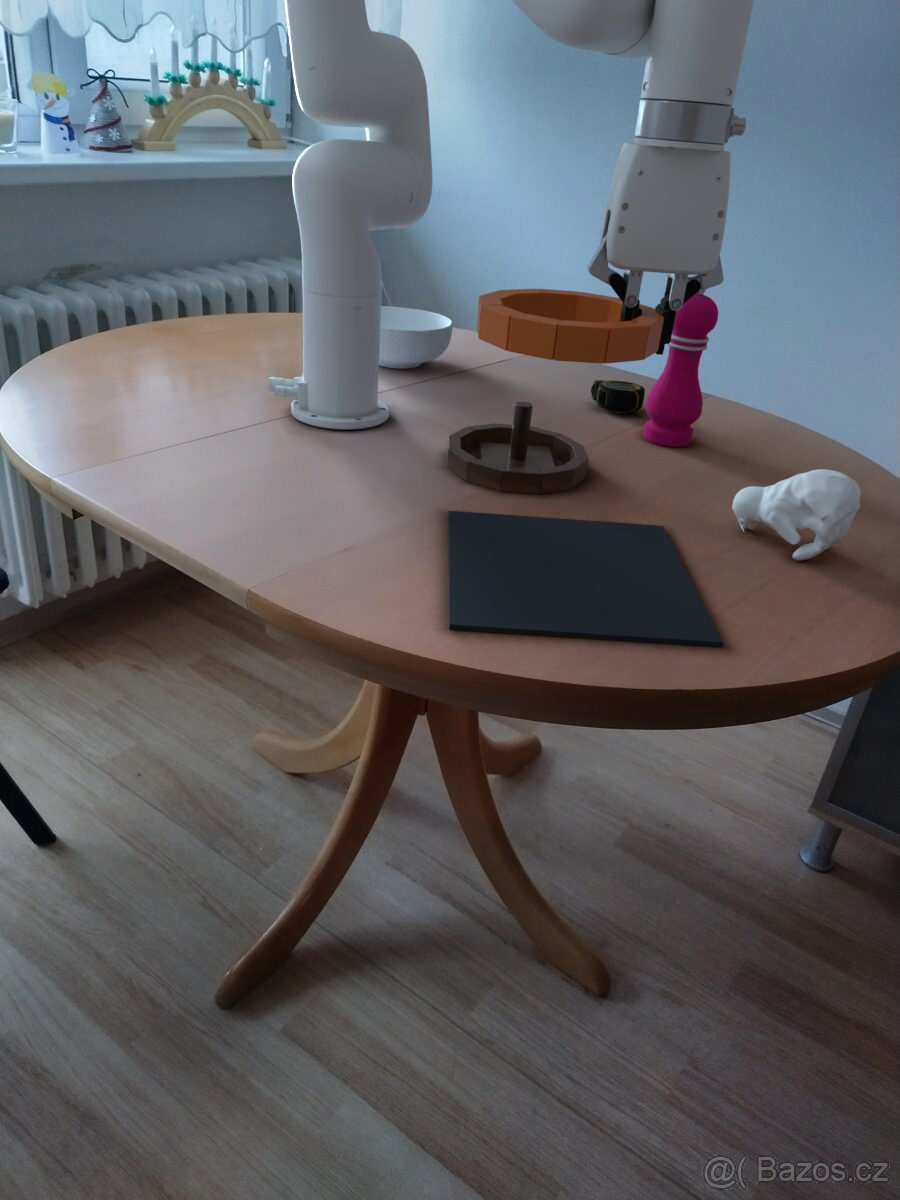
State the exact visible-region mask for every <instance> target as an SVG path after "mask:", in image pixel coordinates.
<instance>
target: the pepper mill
mask: <svg viewBox="0 0 900 1200" xmlns="http://www.w3.org/2000/svg"><path fill="white" fill-rule="evenodd" d="M706 291H707V289H705V290H701V291H699V292H698V293H696V294H695V295H694V296H693V297H691V298H690V299H689V300H688V301H687V302H685V303H684V304H683V305H682V307H681V309H680V310H678V311H676V316H675V321H674V326H673V332H672V337H671V341H670V343H669V344H667V346H668V354H667V359H666V362H665V366H664V368H663V370H662V372H661V373H660V375H659V377H658V378H657V380H656V381H655V383H654V384H653V386H652V387H651V388H650V390H649V393H648V394H647V397H646V400H645V404H644V409H645V412H646V414H647V416H648V418H649V420H646V422H645V424H644V428H643V433H642V434H643V438H644V439H645V440H646V441H648V442H650V443H652V444H655V445H658V446H662V447H670V448H683V447H688V446H690V444H691V443H692V438H693V434H694V429H693V427H692V425H693V424H694V423H696V422H697V421H698V420H699V419H700V417H701V415H702V413H703V402H704V401H703V395H702V390H701V385H700V380H699V367H700V361H701V358H702V355H703V352H704V351H706V350H707V349H708V342H709V341H710V338H709V336H708V334H709V333H711V331H713V330H714V329H715V327H716V326H717V323H718V320H719V309H718V305H717V304H716V302H715V301H714V299H712V298H711V297H710V296H707V295H706V294H705V293H706Z"/></svg>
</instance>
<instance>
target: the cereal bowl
mask: <svg viewBox="0 0 900 1200" xmlns="http://www.w3.org/2000/svg"><path fill="white" fill-rule="evenodd" d="M453 325H454V323H453V321H452V319H450V318H449V317H448V316H445V315H442V314H440V313H436V312H433V311H430V310H429V311H428V310H422V309H417V308H409V307H401V306H390V305H389V306H387V305H386V306H385V305H381V324H380V351H379V367H384V368H390V369H404V370H405V369H406V370H407V369H414V368H418V367H420V366H421V365H422V364H423V363H427V362H431V361H433V360H436V359H437V358H439V357H440V356H441V355H443V354H444V353H445V351H446V350H447V349H448V347H449V345H450V344H451V339H452V335H453Z"/></svg>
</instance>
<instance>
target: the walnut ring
mask: <svg viewBox="0 0 900 1200" xmlns="http://www.w3.org/2000/svg"><path fill="white" fill-rule="evenodd" d="M512 425H513V424H510V423H494V422H493V423H486V424H478V425H470V426H468V425H467V426H465V427H462V428H461V429H459V430H457V431H455V432H453V433H451V434H449V435H448V437H447V450H446V468H447V469H448V470H449V471H450V472H452V473H454V474H455V475H456V476H458V477H459V478H461V479H462V480H464V481H465V482H467V483H470V484H473V485H476V486H480V487H484V488H487V489H491V490H494V491H498V492H502V493H514V494H515V493H517V494H530V495H545V494H549V493H556V492H561V491H567V490H572V489H573V488H575V487H576V486H577V485H579V484H580V482H582V481H583V480H584V479H586V475H587V471H588V464H589V456H588V454H587V451H586V449H585V446H584V445H583V444H581V443H579V442H578V441H576V440H574V439H572V438H570V437H568V436H566V435H564V434H562V433H560V432H557V431H552V430H548V429H544V428H540V427H536V426H532V425H530V431H529V439H528V446H540V447H549V448H550V451H551V454H552V456H554V457H555V458H557V459H559V460H561V461H562V462H564V463H565V464H564V465H558V466H556V465H555V467H550V468H543V469H528V468H514V467H505V466H501V465H497V464H494V463H490V462H486V461H483V460H480V458H476V457H475V456H474V455H471V454H470V453H469V451H471V450H473V449H474V450H475V449H480V442H486V443H500V444H510V442H511V434H512Z"/></svg>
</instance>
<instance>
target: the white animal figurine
mask: <svg viewBox="0 0 900 1200" xmlns="http://www.w3.org/2000/svg"><path fill="white" fill-rule="evenodd" d="M861 495H862V491H861V488H860V486H859V484H858V481H856V480H854V479H853V478H851V476H849V475H846V474H845V473H843V472H840V471H836V470H832V469H825V468H824V469H823V468H822V469H820V468H819V469H812V470H809V471H807V472H801V473H797V474H795V475H792V476H790V477H787V478H785V479H782V480H780V481H777V482H776V483H774V484H771V485H767V486H757V485H755V486H754V485H752V486H747V487H744V488H742V489H740V490H739V491H738V492H737V493H736V494H735V495H734V498H733V501H732V506H731V509H732V511H733V513H734V515H735V517H736V519H737V521H738V524H739V527H740V528H741V530H742V531H743V532H745V529H748V530H754V529H755V528H756V527H757V525H758V524H759V525H762V523H763V524H765V525H766V526H767V527H769V528H770V529H771V530H774V531H775V532H776V533H777V534H778V535H780V536H781V538H783V539H784V540H785V541H786V542H787V543H788V544H791V545H797V544H799V543H800V541H801V535H800V534H799V533H798V531H801V530H805V529H808V530H810V531H812V532H813V533H814V534H815V537H814V540H813V542H810V543H809V542H808V543H805V544H802V545H800V547H798V548H797V549H796V550H795V551H794V552H793V553H792V559H793V560H795V561H805V560H810V559H813V558H815V557H817V556H818V555H820V554H821V553H823V552H824V551H826V550H828V549H830V548H832V547H833V546H834V545H836V544H838V543H839V541H841V540H842V538H843V537H844V536H845V535H846V534H847V533H849V530H850V528H851V526H852V522H853V521H854V519H855V516H856V515H857V512H859V510H860V508H861V504H860V502H861V501H860V499H861ZM797 530H798V531H797Z"/></svg>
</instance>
